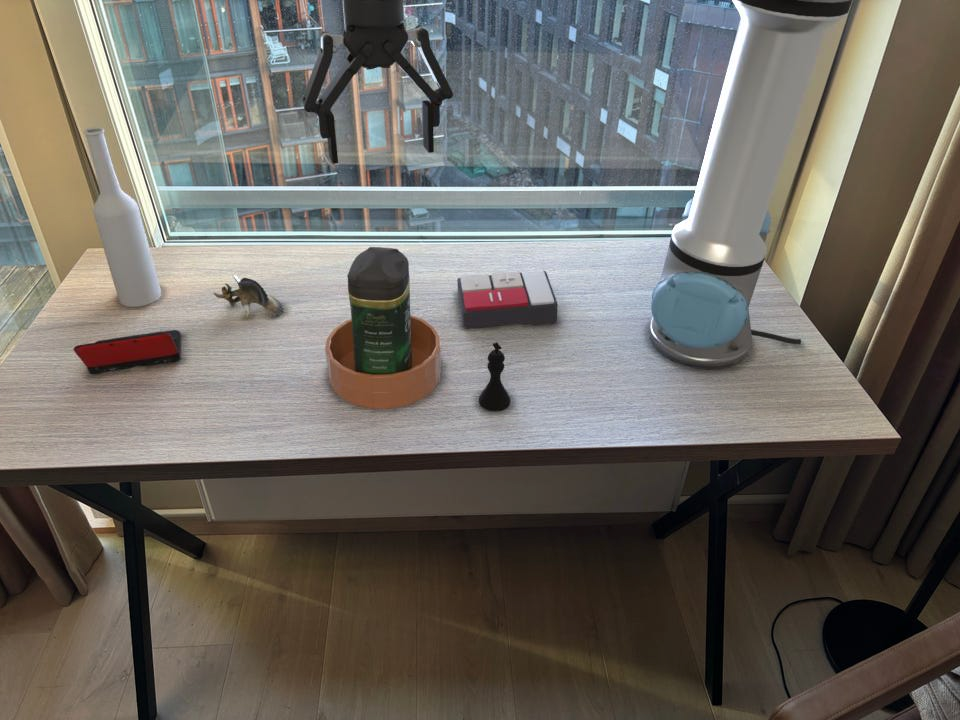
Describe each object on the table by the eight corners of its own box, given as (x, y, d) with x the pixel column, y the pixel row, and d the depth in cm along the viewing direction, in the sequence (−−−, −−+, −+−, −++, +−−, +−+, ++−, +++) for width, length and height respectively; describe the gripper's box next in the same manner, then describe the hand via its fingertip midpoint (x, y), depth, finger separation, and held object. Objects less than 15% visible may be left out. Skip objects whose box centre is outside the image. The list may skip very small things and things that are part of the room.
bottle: (168, 287, 129) (126, 123, 113) (149, 308, 124) (102, 139, 108) (131, 284, 130) (84, 120, 114) (111, 304, 125) (58, 136, 108)
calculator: (456, 273, 128) (545, 266, 129) (458, 295, 130) (545, 288, 131) (462, 309, 119) (558, 300, 120) (463, 331, 122) (557, 323, 123)
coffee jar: (407, 394, 107) (401, 279, 96) (351, 390, 108) (339, 275, 97) (417, 353, 115) (413, 242, 104) (364, 350, 116) (355, 239, 105)
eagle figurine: (215, 319, 120) (268, 315, 118) (211, 273, 120) (264, 268, 118) (239, 319, 127) (290, 315, 126) (235, 276, 127) (286, 271, 125)
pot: (453, 351, 116) (453, 320, 113) (421, 417, 104) (420, 385, 101) (354, 334, 119) (351, 304, 116) (311, 397, 107) (306, 366, 104)
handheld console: (182, 334, 119) (171, 293, 114) (181, 375, 110) (169, 333, 106) (94, 346, 116) (80, 304, 111) (86, 390, 107) (70, 346, 103)
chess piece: (494, 387, 109) (497, 329, 104) (516, 402, 107) (520, 343, 101) (472, 400, 107) (473, 341, 101) (494, 416, 104) (496, 356, 99)
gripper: (458, -21, 102) (458, 136, 114) (265, -12, 95) (288, 154, 107) (477, -10, 96) (474, 154, 109) (274, 1, 89) (296, 175, 102)
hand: (382, 154), depth 108 cm, fingers open, 13 cm apart
